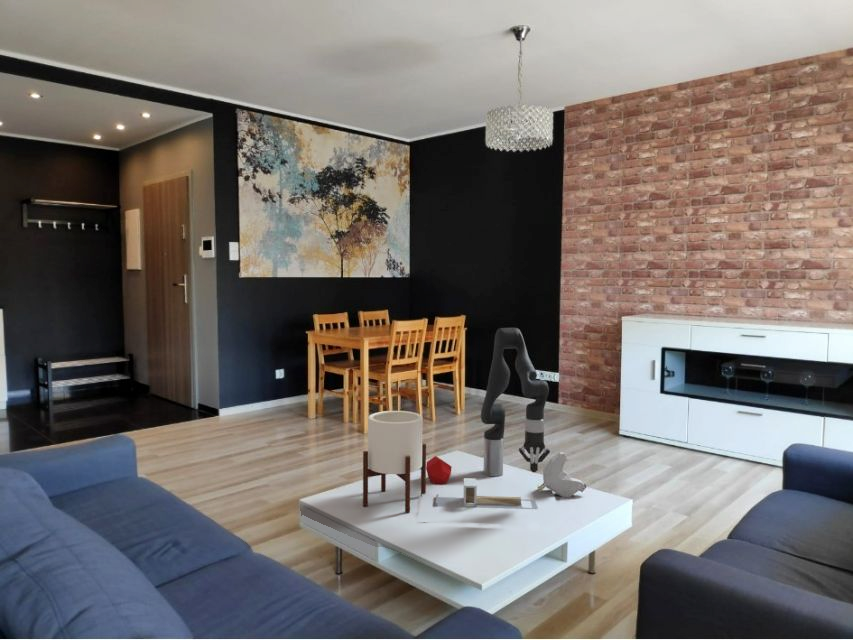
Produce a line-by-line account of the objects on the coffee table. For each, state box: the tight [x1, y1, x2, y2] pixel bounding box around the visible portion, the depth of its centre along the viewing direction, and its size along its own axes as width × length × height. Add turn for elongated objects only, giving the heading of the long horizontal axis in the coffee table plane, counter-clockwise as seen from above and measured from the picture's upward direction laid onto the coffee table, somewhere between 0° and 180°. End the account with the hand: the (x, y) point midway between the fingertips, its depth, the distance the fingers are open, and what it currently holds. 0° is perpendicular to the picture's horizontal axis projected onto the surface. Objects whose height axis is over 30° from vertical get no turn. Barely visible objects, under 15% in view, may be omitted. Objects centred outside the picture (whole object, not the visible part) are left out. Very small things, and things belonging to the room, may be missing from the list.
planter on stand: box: [362, 410, 427, 514], centre depth 248 cm, size 22×22×36 cm
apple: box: [426, 455, 452, 486], centre depth 274 cm, size 12×12×15 cm
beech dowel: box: [476, 495, 522, 505], centre depth 244 cm, size 2×18×2 cm, turn 87°
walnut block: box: [466, 487, 474, 503], centre depth 244 cm, size 4×4×7 cm
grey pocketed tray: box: [434, 477, 539, 510], centre depth 244 cm, size 10×41×10 cm, turn 87°
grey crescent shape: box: [537, 451, 587, 497], centre depth 258 cm, size 7×19×20 cm
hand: (533, 471), depth 242 cm, fingers closed
